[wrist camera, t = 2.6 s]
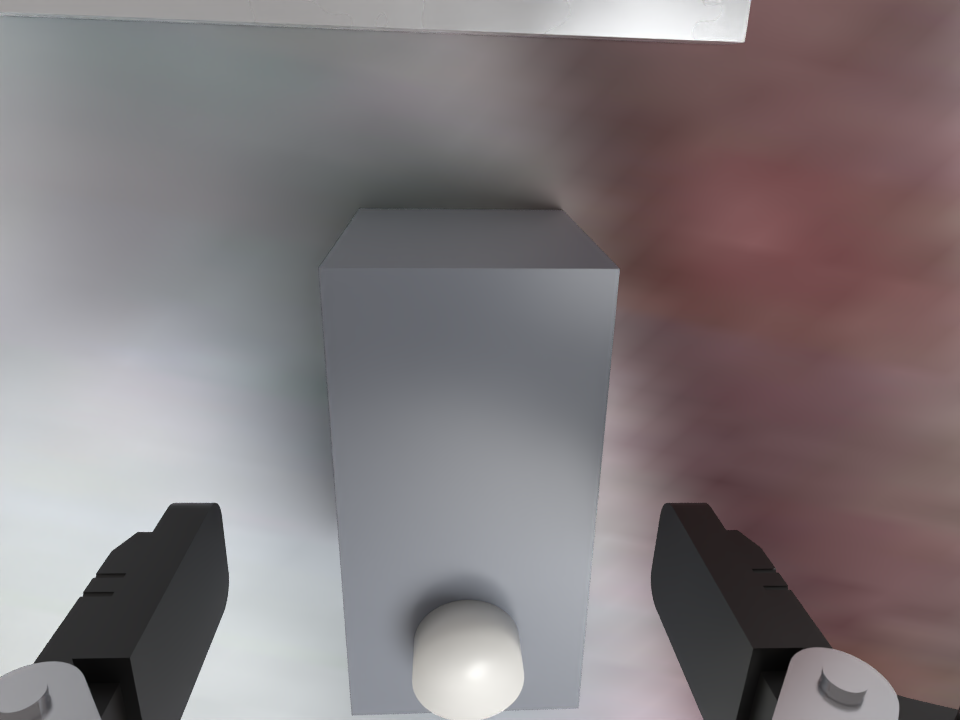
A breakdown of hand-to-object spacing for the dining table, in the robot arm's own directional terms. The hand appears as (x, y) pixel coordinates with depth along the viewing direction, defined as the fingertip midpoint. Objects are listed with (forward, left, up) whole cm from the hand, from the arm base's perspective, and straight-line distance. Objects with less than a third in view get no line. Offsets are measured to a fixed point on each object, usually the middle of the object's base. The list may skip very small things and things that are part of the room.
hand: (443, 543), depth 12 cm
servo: (0, 0, -7) cm, 7 cm away
